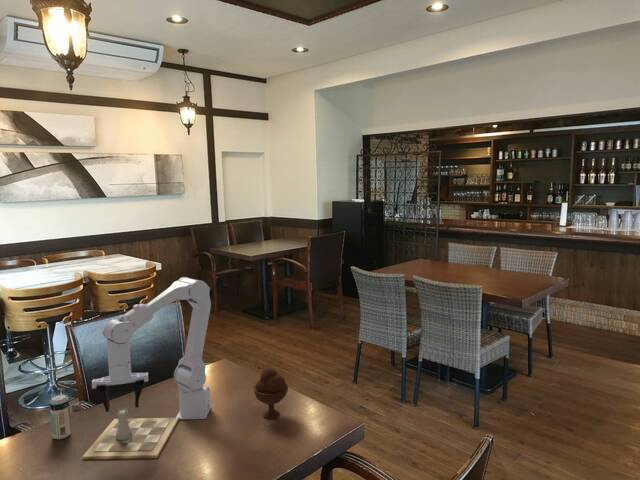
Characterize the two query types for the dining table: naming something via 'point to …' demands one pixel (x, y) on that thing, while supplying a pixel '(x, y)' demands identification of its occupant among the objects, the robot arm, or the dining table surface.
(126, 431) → the rook chess piece
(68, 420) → the white labeled bottle
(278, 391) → the ice cream bowl
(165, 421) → the chessboard
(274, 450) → the dining table surface
